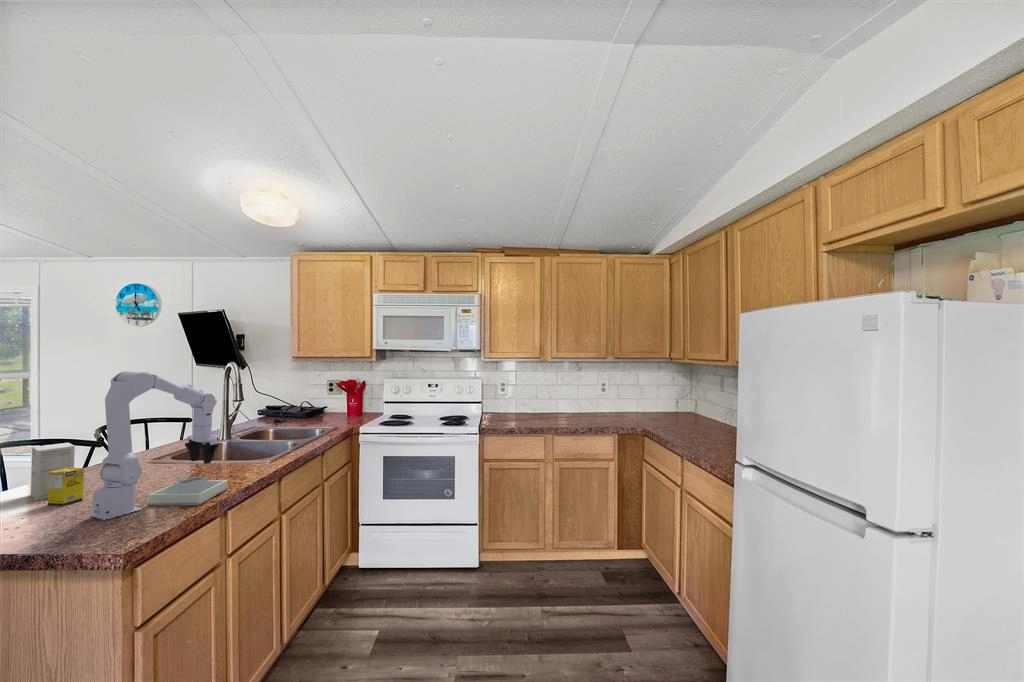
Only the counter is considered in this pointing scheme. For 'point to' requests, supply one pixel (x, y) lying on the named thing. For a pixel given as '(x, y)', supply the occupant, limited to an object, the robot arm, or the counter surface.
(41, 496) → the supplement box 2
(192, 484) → the small crate
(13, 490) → the counter surface
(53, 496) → the supplement box
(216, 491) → the pale green tray
